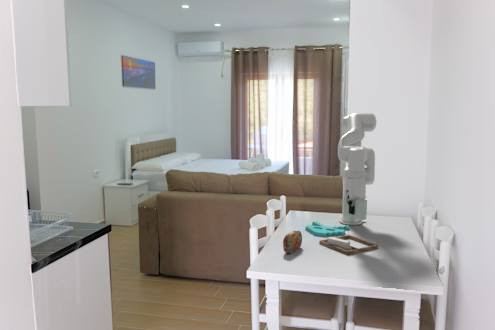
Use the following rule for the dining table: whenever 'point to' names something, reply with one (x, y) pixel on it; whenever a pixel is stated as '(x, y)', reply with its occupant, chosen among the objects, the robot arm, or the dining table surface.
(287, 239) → the tin
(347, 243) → the grey offcut
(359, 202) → the sage panel
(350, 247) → the pine offcut
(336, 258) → the dining table surface
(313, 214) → the dining table surface
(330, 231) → the alien figure
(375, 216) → the dining table surface
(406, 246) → the dining table surface
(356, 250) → the rack
